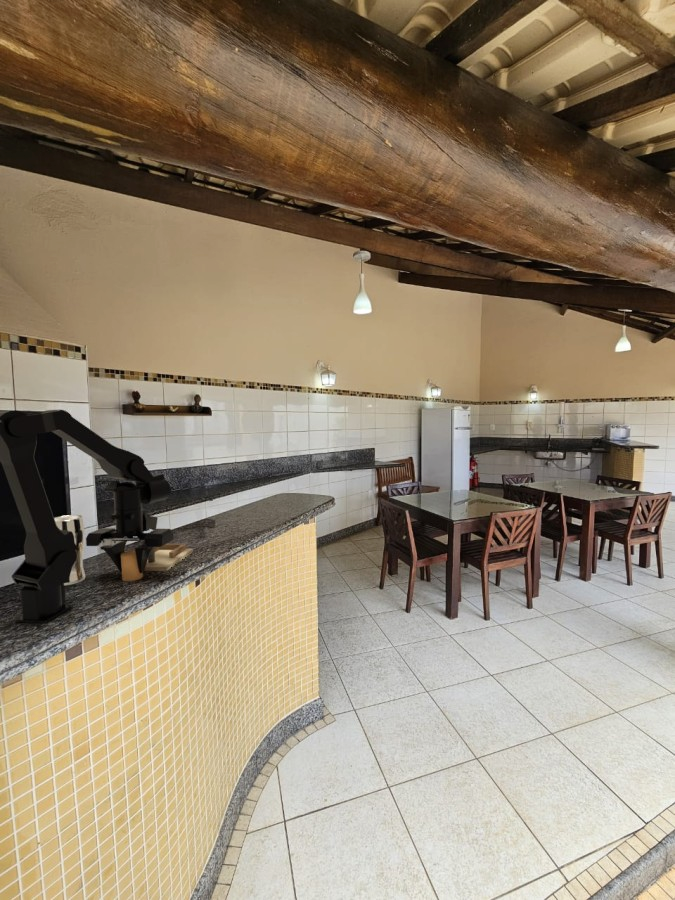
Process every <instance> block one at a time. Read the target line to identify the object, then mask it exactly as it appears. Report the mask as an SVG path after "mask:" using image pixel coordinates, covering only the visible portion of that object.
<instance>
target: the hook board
mask: <svg viewBox="0 0 675 900" xmlns="http://www.w3.org/2000/svg"><path fill="white" fill-rule="evenodd" d="M186 546H187V545H186V543H167V544H165V545H163V546H160V547H153V548H152V550H151V552H150V555H149V557H148V560H147V564H146V567H145V570H144V572H145V571H147V572H149V571H151V572H153V571H154V572H158V571H159V572H160V571H161V572H167V571H169V570H170V569H171V567H172V568H173V567H174V566H176V565H177V564H178V562H179V563H181V561H183V560H184V559H186V558H188V557H189V556H190V555H191V554H193V552H194V549H193V548H187V547H186ZM185 557H186V558H185ZM182 559H183V560H182ZM175 564H176V565H175Z"/></svg>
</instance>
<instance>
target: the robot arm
mask: <svg viewBox="0 0 675 900" xmlns="http://www.w3.org/2000/svg"><path fill="white" fill-rule="evenodd" d="M50 432H51V433H53V434H55V435H57V436H58V437H60V438H61V439H63V440H64V441H66V442H67V443H69V444H70V445H72V446H74V447H75V448H76V449H78V450H80V451H81V452H83V453H85V454H86V455H88V456H89V457H90V458H92V459H94V460H95V461H97V463H98V464H99V466H100V469H101V470H103V471H104V472H105V473H106V474H107V475H108V476H109V477H110V478H112V479H116V480H110V482H109V484H107V485H106V486H105V487H104V488H103V491H104V492H106V493H107V492H108V493H109V492H111V493H113V498H114V499H113V501H114V502H113V503H114V513H112V514H110V517H111V520H115V528H112V527H111V528H110V527H109V528H107V527H106V528H105V527H104V528H102V527H101V528H99V529H97V530H94V531H91V532H89V533H88V534H87V536H85V545H86V547H98V546H100V545H101V544H102V546H100V550H101V551H104V552H105V553H106V554H107V556H108V557H109V558H110V559H111V560H112V562H113V564H114V565H115V566H116V569H118V571H119V572H120V574H122V566H121V554H122V553H124V552H126V551H125V549H126V545H127V542H140V543H139V544H140V545H138V546H136V547H135V548H134V550H135V553H136V558H137V564H138V569H139V572H140V573H143V574H144V572H145V571H144V570H145V567H146V564H147V560H148V557H149V555H150V552H151V550H152V548H153V547H160V546H163V545H165V544H170V543H171V542H172V541H173V540H175V539H174V538H175V536H174V531H173V530H172V529H171V528H157V525H158V520H159V519H158V516H153V515H147V510H146V509H145V508H144V509H143V504H145V505H147V504H152V503H156V502H159V501H160V502H161V501H164V500H167V499H169V498H170V496H171V493H172V487H171V486H170V483H169V481H168V480H167V479H166V478H165V474H163V473H155V474H152V473H151V472H150V470H149V468H147V466H146V465H145V460H144V458H142V456H140V455H138V454H135V453H134V452H132V451H129V450H126V449H123V448H119V447H117V446H115V445H113V444H112V443H110V442H109V441H108V440H106V439H104V438H103V437H101V436H100V435H99V434H98V433H96V432H95V431H93V430H92V429H91V428H89V427H88V426H86V425H85V424H83V423H81V422H80V420H78V419H76V418H74V417H73V416H72V414H71V413H70V412H68V411H67V410H65V409H46V410H44V411H39V412H32V413H31V412H30V413H26V412H23V411H21V410H20V411H19V410H3V411H2V410H0V464H1V466H2V468H3V471H4V473H5V477H6V479H7V482H8V485H9V488H10V491H11V493H12V496H13V499H14V501H15V504H16V507H17V511H18V512H19V517H20V519H21V522H22V524H23V528H24V530H25V534H26V535H25V540H24V544H23V552H24V560H23V561H22V563H21V564H20V565H19V566H18V567H17V568H16V570H15V571H14V572H13V573H12V574H11V578H12V581H13V582H14V584H15V585H16V586H23V588H22V589H20V602H21V611H22V613H21V615H20V616H18V617H16V618H14V621H15V622H16V623H37V624H38V623H41V624H42V623H43V624H44V623H49V622H50V621H51V620H53V619H55V618H56V617H58V616H60V615H61V614H63V613H65V612H66V611H68V610H70V609H71V608H72V604H69V603H68V604H67V603H66V593H65V586H64V583H67V582H68V581H69V577H70V573H71V570H72V566H73V565H74V563H75V561H76V560H77V553H76V550H79V548H78V547H77V546H76V544H75V541H74V535H73V533H72V531H65V530H60V529H59V528H58V527H57V525H56V522H55V519H54V518H55V517H54V514H53V511H52V507H51V505H50V501H49V499H48V496H47V495H48V494H46V490H45V487H44V484H43V480H42V477H41V475H40V472H39V469H38V466H37V463H36V460H35V453H36V448H37V442H38V438H37V435H41V434H46V433H50ZM119 480H123V481H124V482H121V481H119ZM133 482H135V483H133ZM150 530H151V531H150ZM147 531H149V532H147Z"/></svg>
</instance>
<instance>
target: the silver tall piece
mask: <svg viewBox="0 0 675 900" xmlns="http://www.w3.org/2000/svg"><path fill="white" fill-rule="evenodd" d="M54 519H55V522H56V525H57V527H58V528H59V529H60V530H65V531H72V533H73V535H74V541H75V544H76V546H77V547H78V548H79V550H76V553H77V560H76V561H75V563H74V565H73V566H72V570H71V573H70V577H69V581H68V582H67V583H64V587H65V586H71V585H75V584H78V583H81V582H83V581H85V579H86V573H85V569H84V563H83V560H84V549H85V545H86V534H85V525H84V524H85V523H84V518H83V515H82V514H69V515H61V516H55V517H54Z"/></svg>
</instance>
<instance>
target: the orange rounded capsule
mask: <svg viewBox="0 0 675 900" xmlns="http://www.w3.org/2000/svg"><path fill="white" fill-rule="evenodd" d="M121 566H122V573H121V579H122V581H123V582H135V581H137V580H141V579H142V578H144V572H143V573H140V572H139V569H138V564H137V558H136V553H135V549H133V550H127V551H125V552H124V553H122V554H121Z"/></svg>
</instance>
